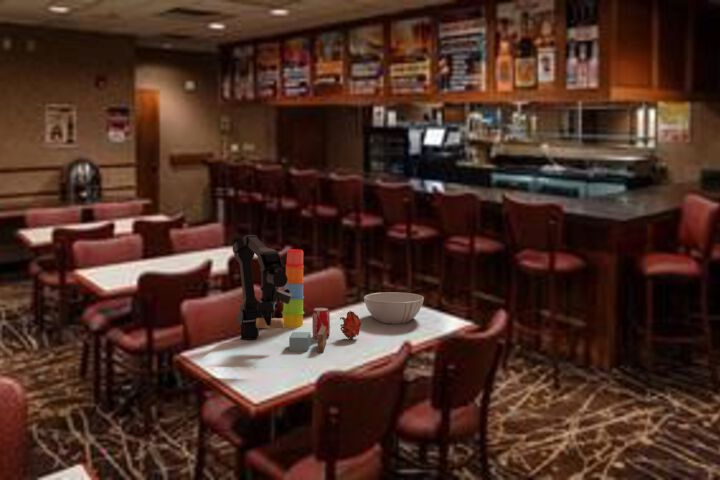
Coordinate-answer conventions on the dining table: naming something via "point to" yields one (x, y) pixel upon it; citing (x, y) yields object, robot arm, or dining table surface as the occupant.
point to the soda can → (321, 321)
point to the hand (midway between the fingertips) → (269, 324)
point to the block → (299, 341)
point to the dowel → (274, 324)
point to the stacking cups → (294, 289)
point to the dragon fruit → (351, 325)
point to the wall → (321, 339)
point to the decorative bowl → (393, 306)
